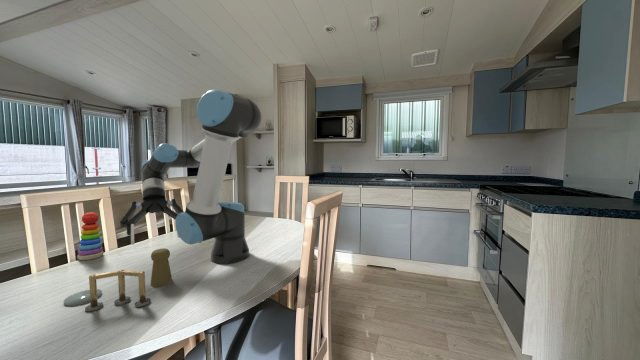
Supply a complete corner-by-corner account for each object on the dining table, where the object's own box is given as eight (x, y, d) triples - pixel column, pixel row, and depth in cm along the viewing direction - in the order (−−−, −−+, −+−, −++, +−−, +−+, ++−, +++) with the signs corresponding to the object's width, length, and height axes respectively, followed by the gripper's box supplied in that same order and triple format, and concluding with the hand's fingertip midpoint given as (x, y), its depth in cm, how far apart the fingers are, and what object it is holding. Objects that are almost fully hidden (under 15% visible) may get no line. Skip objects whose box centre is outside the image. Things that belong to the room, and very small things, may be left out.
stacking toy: (87, 261, 97) (85, 214, 96) (72, 260, 99) (69, 213, 97) (108, 254, 105) (106, 211, 103) (93, 253, 106) (91, 210, 105)
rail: (152, 292, 74) (151, 263, 74) (150, 305, 68) (148, 273, 67) (87, 306, 67) (85, 274, 66) (78, 322, 60) (75, 286, 60)
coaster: (104, 288, 76) (104, 286, 76) (98, 300, 70) (98, 298, 70) (69, 295, 72) (69, 293, 72) (58, 309, 66) (58, 307, 66)
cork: (176, 280, 82) (175, 248, 81) (158, 288, 77) (156, 254, 76) (164, 276, 85) (163, 245, 84) (146, 284, 79) (144, 251, 79)
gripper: (188, 195, 107) (195, 238, 96) (114, 200, 93) (111, 251, 81) (189, 184, 102) (197, 228, 91) (111, 187, 88) (109, 239, 77)
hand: (156, 239), depth 86 cm, fingers open, 13 cm apart
